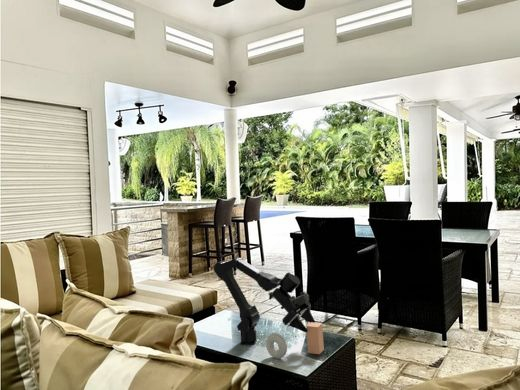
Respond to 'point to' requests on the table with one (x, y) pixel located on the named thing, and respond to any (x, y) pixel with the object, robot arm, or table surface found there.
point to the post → (315, 338)
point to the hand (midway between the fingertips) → (311, 328)
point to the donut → (271, 348)
